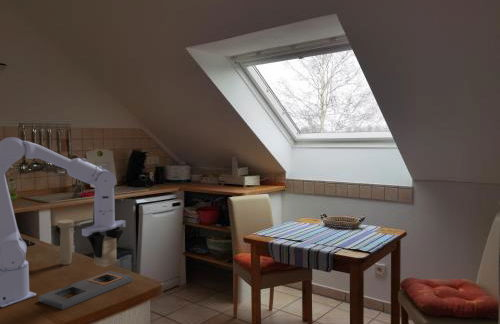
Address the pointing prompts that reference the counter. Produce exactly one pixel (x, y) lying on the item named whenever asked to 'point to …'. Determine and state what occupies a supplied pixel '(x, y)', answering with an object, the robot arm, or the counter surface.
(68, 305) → the grey board with holes
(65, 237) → the handle
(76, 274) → the counter surface
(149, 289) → the counter surface
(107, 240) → the peg
